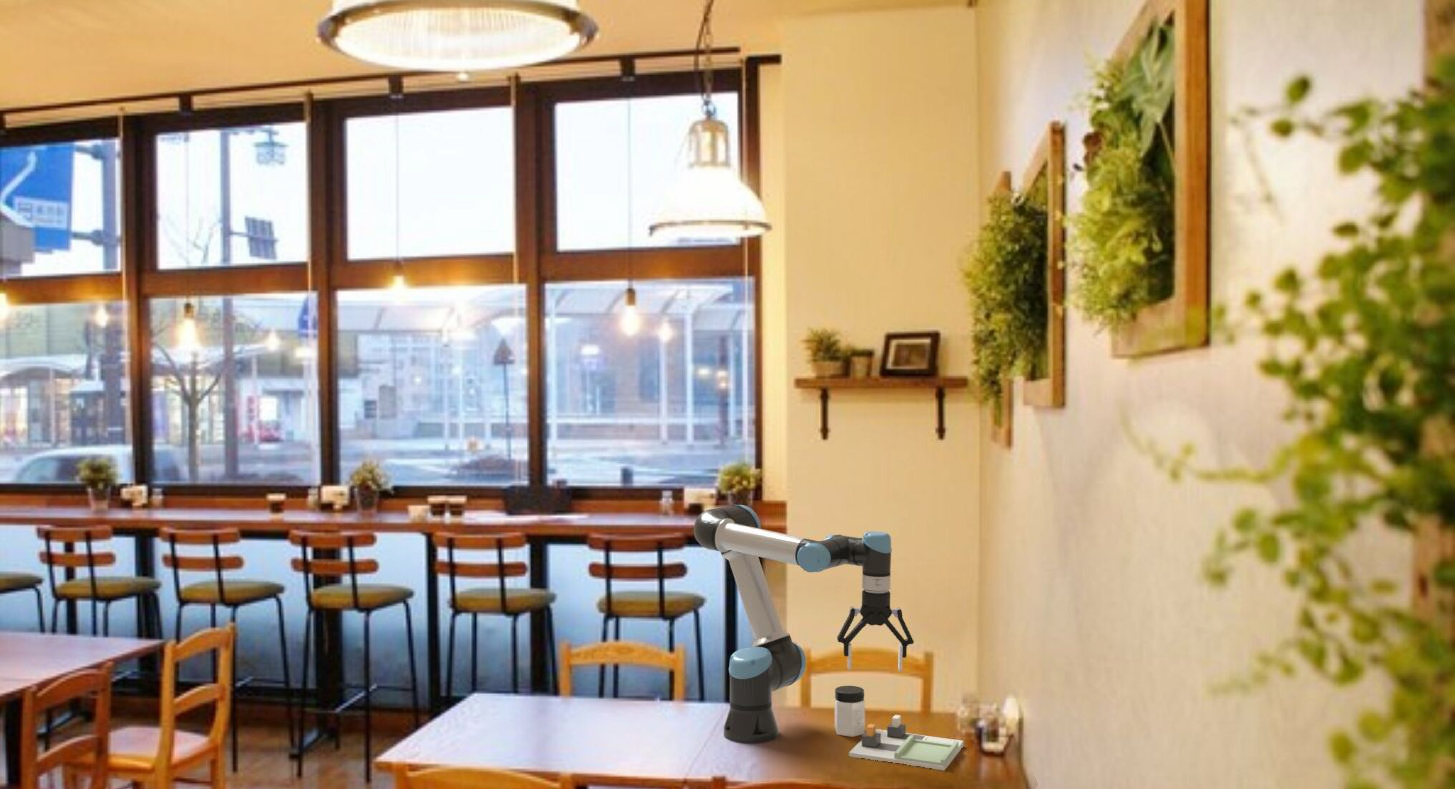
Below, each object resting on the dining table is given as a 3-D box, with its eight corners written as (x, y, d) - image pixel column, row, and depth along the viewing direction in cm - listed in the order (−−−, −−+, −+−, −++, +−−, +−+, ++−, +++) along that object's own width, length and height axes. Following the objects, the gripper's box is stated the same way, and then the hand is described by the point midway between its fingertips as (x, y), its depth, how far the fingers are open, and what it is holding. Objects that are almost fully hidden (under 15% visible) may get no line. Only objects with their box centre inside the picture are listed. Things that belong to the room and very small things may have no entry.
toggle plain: (887, 735, 292) (887, 717, 292) (891, 731, 295) (891, 713, 295) (901, 737, 290) (901, 719, 290) (905, 733, 294) (905, 715, 294)
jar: (846, 738, 295) (846, 695, 294) (828, 730, 301) (828, 688, 301) (871, 732, 300) (871, 690, 299) (852, 725, 306) (852, 683, 306)
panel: (849, 758, 280) (848, 746, 280) (873, 733, 299) (873, 722, 299) (944, 772, 269) (944, 760, 269) (963, 746, 288) (963, 735, 288)
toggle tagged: (861, 745, 284) (861, 726, 284) (866, 740, 288) (866, 722, 288) (876, 747, 283) (876, 728, 283) (880, 742, 286) (880, 724, 286)
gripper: (830, 592, 285) (828, 671, 286) (925, 594, 284) (923, 673, 285) (828, 586, 292) (827, 663, 293) (921, 588, 291) (919, 665, 292)
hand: (874, 668), depth 289 cm, fingers open, 13 cm apart
